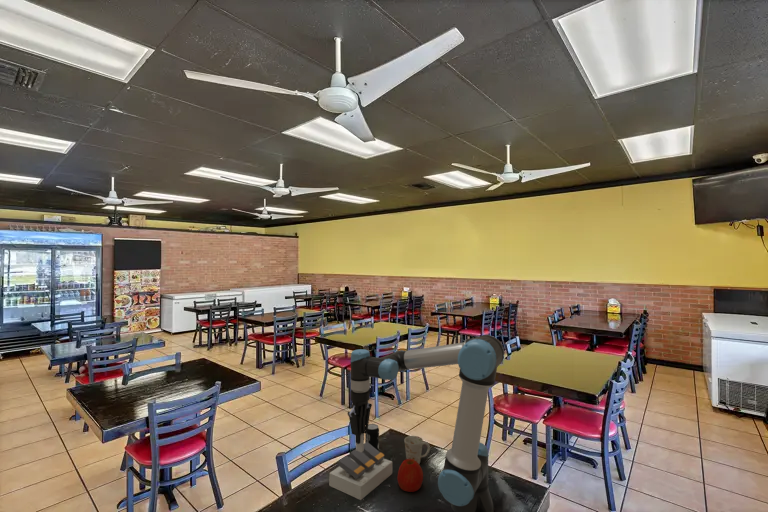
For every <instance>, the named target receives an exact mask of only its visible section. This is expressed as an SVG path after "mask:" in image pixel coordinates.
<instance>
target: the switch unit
mask: <svg viewBox="0 0 768 512" xmlns="http://www.w3.org/2000/svg"><path fill="white" fill-rule="evenodd" d="M350 459H351V458H350ZM351 460H353V459H351ZM353 461H354V460H353ZM354 462H355V461H354ZM328 475H329V478H328V479H329V481H328V483H329V487H331V488H334V489H335V490H338V491H340V492H343V493H344V494H347V495H348V496H351V497H353V498H355V499H357V500H360V501H362V500H363V499H365V497H366V496H367V495H369V494H370V493H372V492H373V491H374V490H375V489H376V488H377V487H378V486H380V484H382V483H383V482H384V481H386V480H387V479H388V478H389V477H390V476H391V475H393V461H392V460H389V459H387V458H384V459H383V460H382V461H381V462H380V463H378V464H376V463H375V465H374V467H373V468H372V469H370V470H369V471H368V472H366V471H364V474H363V475H362V476H360V477H359V478H358V479H356V478H354V477H353V476H352V475H350V474H349V473H348V472H346V471H345V470H344V469H342V468H341V467H340V466H337V467H336V468H334V469H333V470H332V471H330V472H329V474H328Z"/></svg>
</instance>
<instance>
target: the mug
mask: <svg viewBox="0 0 768 512" xmlns="http://www.w3.org/2000/svg"><path fill="white" fill-rule="evenodd" d="M403 441H404V447H405V460H406V459H413V460H415V461H417V463H418V464H419V465H420V463H421V459H422V458H426V457H427V456H428V455H429V453H430V449H431V446H430V443H429V442H428V441H424V440H423V438H422V437H420V436H417V435H409V436H406V437H405V438H404V440H403ZM423 446H426V448H427V449H426V452H425V454H422V451H423Z"/></svg>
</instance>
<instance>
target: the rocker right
mask: <svg viewBox="0 0 768 512" xmlns="http://www.w3.org/2000/svg"><path fill="white" fill-rule="evenodd" d="M363 453H364V454H365V455H366V456H367V457H369V458H370V459H372V460H373V461H374V462H375V463H376V464H378V463H380V462H381V461H382V460H383V459H385V453H383V452H381V451H380V450H379V451H378V450H377V449H375V448H374V447H373V446H372V445H370V444H369V443H368V442H366V443H365V442H364V451H363Z"/></svg>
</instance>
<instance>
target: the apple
mask: <svg viewBox="0 0 768 512" xmlns="http://www.w3.org/2000/svg"><path fill="white" fill-rule="evenodd" d="M423 481H424V472H423V469H422V467H421V465H420V464H418V463H417V461H415V460H413V459H406V458H405V459H404V460H402V462H401V464H400V465H399V468H398V471H397V484H398V486H399V488H400V489H401V490H402V491H405V492H410V493H411V492H412V493H415V492H417V491H418V490H420V489H421V487H422V484H423Z"/></svg>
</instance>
